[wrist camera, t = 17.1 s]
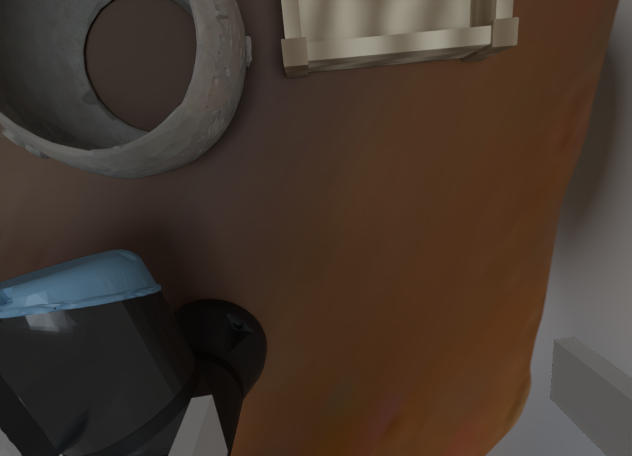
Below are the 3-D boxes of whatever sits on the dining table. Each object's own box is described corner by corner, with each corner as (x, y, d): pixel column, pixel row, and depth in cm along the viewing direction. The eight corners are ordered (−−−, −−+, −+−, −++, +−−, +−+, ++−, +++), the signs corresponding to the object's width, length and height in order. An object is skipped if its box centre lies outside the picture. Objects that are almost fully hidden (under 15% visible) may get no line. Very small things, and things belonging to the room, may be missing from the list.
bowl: (233, 191, 41) (194, 222, 26) (45, 138, 38) (-112, 139, 24) (280, -10, 35) (263, -113, 21) (62, -89, 33) (-131, -267, 18)
